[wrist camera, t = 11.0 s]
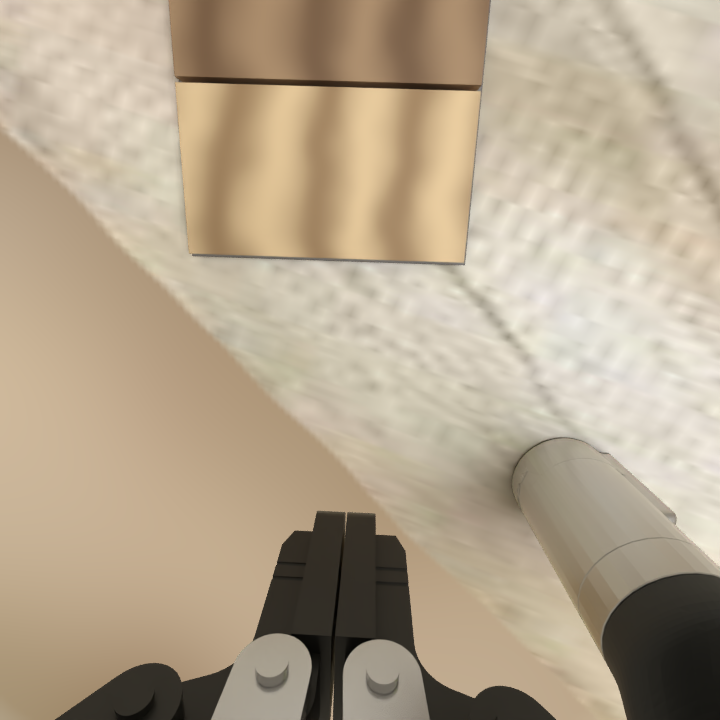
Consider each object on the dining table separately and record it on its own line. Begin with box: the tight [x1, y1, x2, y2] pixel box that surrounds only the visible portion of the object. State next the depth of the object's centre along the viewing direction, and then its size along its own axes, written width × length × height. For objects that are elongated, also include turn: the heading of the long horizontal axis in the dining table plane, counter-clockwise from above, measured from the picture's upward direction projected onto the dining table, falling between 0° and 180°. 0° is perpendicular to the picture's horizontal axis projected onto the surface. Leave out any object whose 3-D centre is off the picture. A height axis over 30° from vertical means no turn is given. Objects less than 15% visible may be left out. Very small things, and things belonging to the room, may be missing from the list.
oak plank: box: [175, 82, 481, 263], centre depth 33 cm, size 22×12×2 cm, turn 88°
